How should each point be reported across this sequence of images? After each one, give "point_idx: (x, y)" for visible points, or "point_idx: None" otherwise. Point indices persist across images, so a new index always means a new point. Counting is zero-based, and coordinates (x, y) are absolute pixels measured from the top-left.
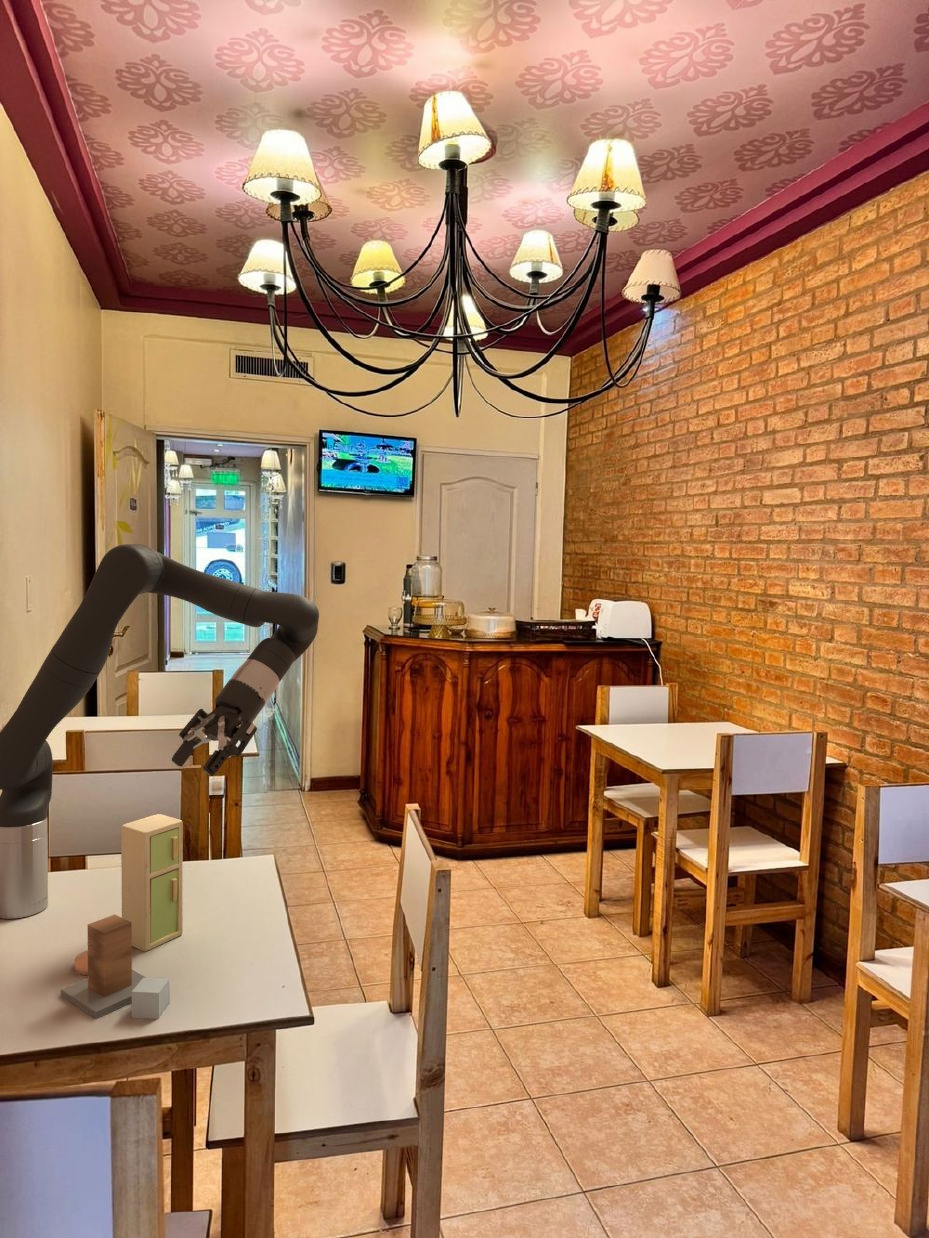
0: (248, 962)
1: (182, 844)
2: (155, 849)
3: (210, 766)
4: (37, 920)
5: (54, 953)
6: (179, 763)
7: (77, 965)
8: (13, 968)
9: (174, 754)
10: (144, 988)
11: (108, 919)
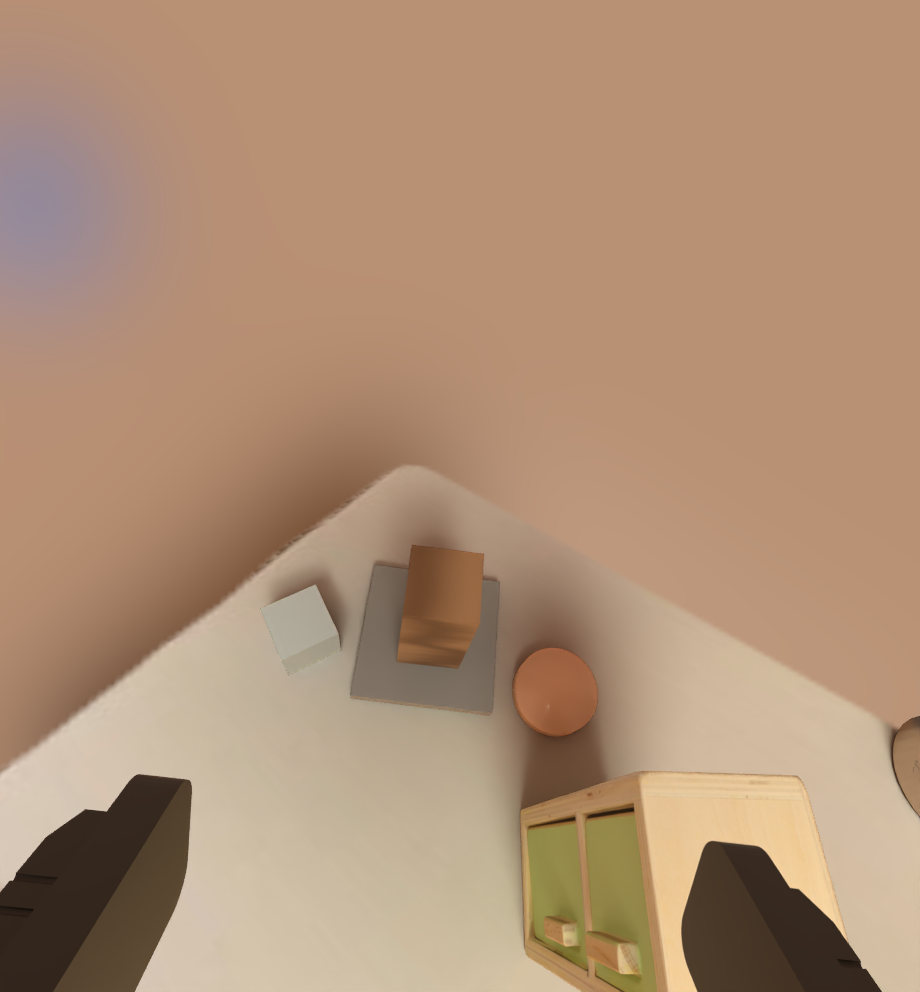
0: (236, 949)
1: None
2: (616, 842)
3: (88, 831)
4: (859, 763)
5: (667, 682)
6: (695, 918)
7: (553, 648)
8: (660, 602)
9: (832, 930)
10: (301, 605)
11: (467, 596)
